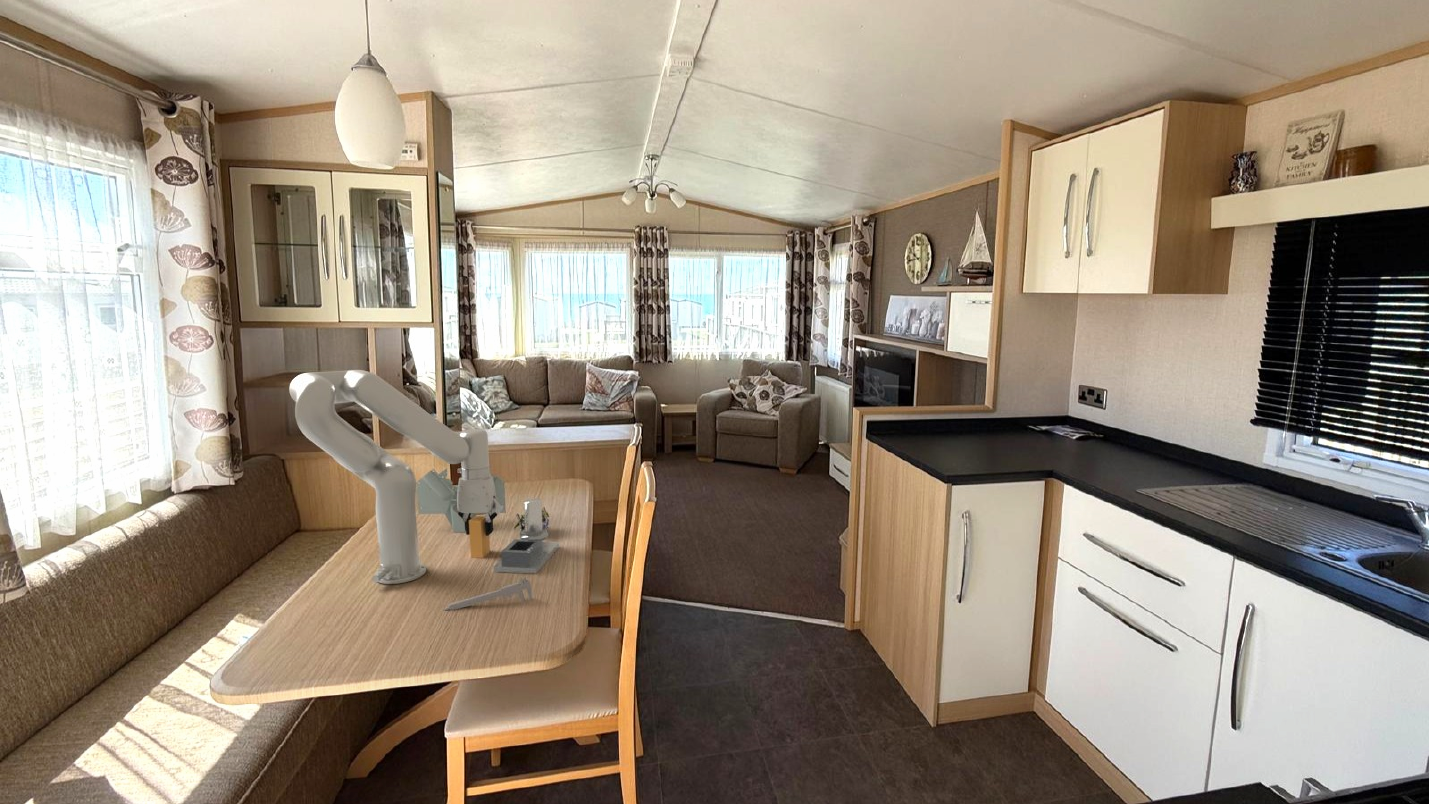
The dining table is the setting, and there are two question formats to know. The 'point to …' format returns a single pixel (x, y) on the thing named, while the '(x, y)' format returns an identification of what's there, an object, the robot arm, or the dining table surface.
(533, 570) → the gray socket post fixture
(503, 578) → the dining table surface
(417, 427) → the robot arm
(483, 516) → the tan rectangular block
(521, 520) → the passion flower
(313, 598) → the dining table surface
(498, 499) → the bracket
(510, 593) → the caliper
